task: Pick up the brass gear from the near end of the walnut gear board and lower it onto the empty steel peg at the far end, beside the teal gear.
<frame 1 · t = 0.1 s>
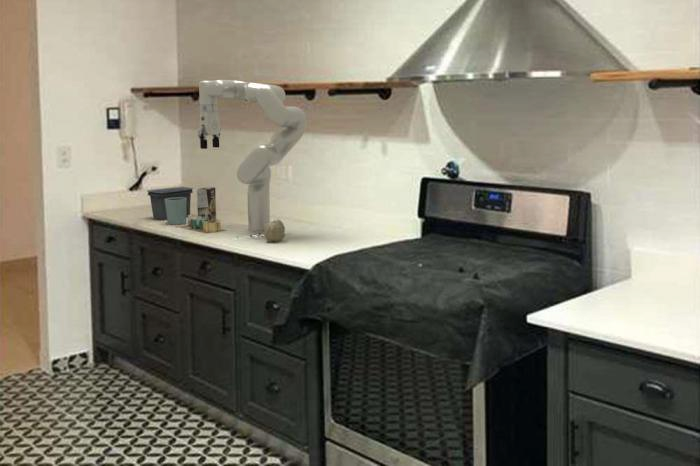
hand: (210, 148, 362), 37 cm above the worktop, tool pointing down, fingers open, 9 cm apart
coffee box: (207, 221, 393), on the worktop
gear board: (201, 231, 363), on the worktop
tan rounded piece: (273, 242, 336), on the worktop
storage bin: (170, 217, 407), on the worktop
grey green cup: (176, 224, 387), on the worktop
brass gear: (212, 230, 355), point 1 cm above the worktop, touching gear board
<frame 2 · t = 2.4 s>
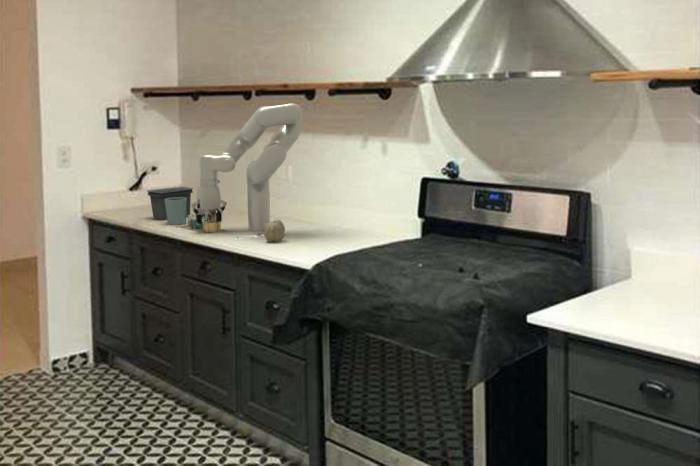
hand: (209, 222, 355), 5 cm above the worktop, tool pointing down, fingers open, 9 cm apart
brass gear: (212, 230, 355), point 1 cm above the worktop, touching gear board, gripper
everything else where it was.
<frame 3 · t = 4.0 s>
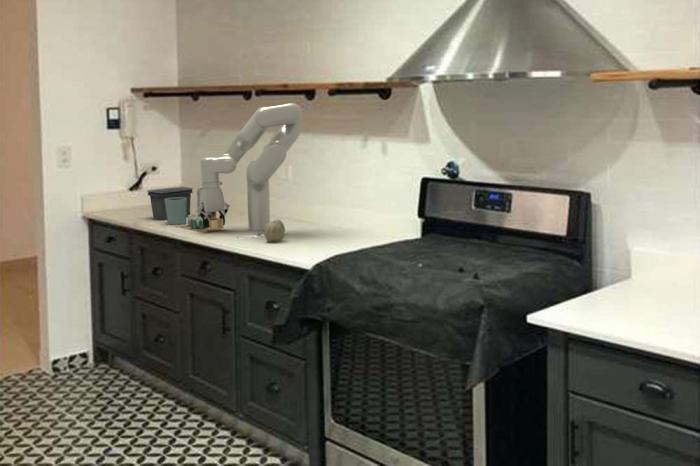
hand: (214, 225, 355), 4 cm above the worktop, tool pointing down, fingers closed on brass gear, 7 cm apart
brass gear: (214, 228, 355), point 3 cm above the worktop, touching gripper
everything else where it was.
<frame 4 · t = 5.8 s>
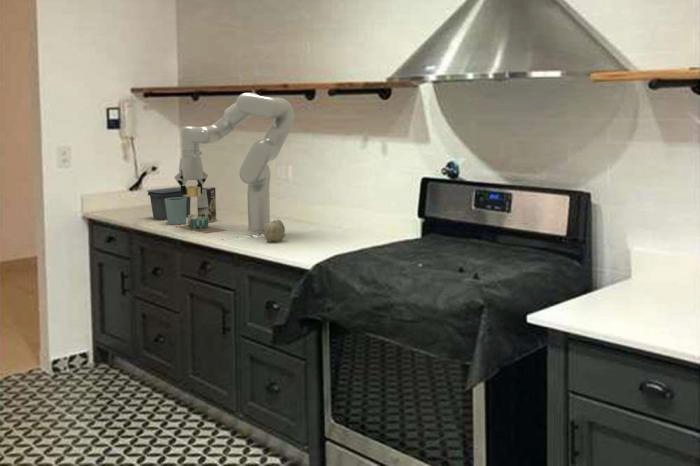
hand: (191, 193, 364), 16 cm above the worktop, tool pointing down, fingers closed on brass gear, 7 cm apart
brass gear: (191, 195, 364), point 15 cm above the worktop, touching gripper
everything else where it was.
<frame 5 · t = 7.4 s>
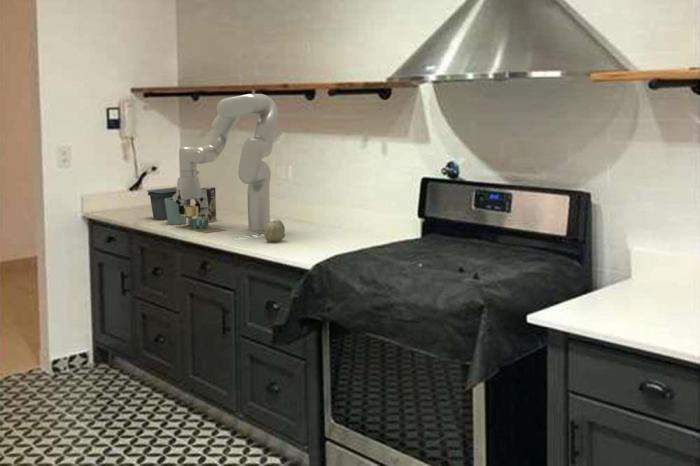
hand: (189, 213, 368), 7 cm above the worktop, tool pointing down, fingers closed on brass gear, 7 cm apart
brass gear: (189, 215, 368), point 6 cm above the worktop, touching gripper
everything else where it was.
when the fingers open (4 cm above the worktop, at t = 8.6 s): brass gear drops 1 cm, resting on gear board.
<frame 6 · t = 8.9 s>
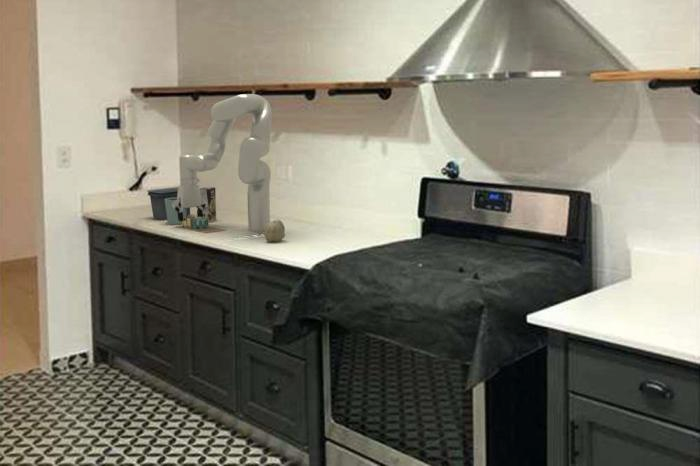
hand: (190, 220, 369), 4 cm above the worktop, tool pointing down, fingers open, 9 cm apart
brass gear: (190, 226, 369), point 1 cm above the worktop, touching gear board
everything else where it was.
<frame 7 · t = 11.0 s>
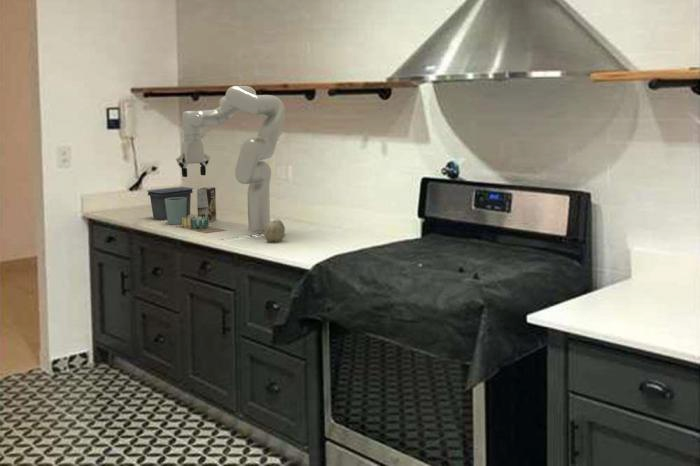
hand: (194, 176, 374), 23 cm above the worktop, tool pointing down, fingers open, 9 cm apart
nothing on the worktop moved.
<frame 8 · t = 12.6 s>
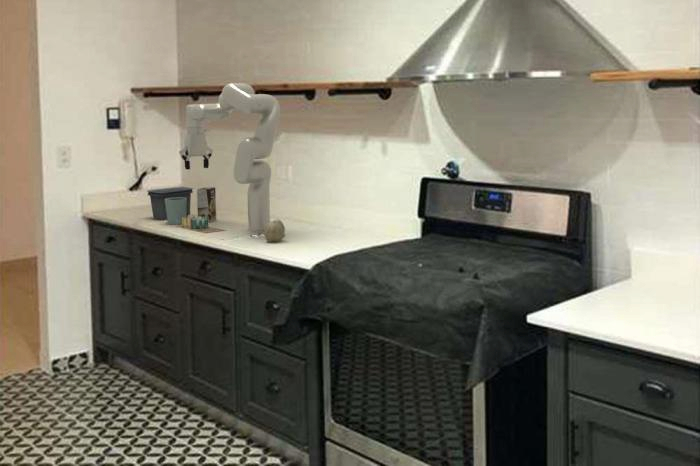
hand: (196, 168, 379), 26 cm above the worktop, tool pointing down, fingers open, 9 cm apart
nothing on the worktop moved.
at the end: brass gear 0.1 cm from the target spot on the gear board, point 1.5 cm above the gear board's base; brass gear tilted 0°; the gripper is holding nothing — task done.
